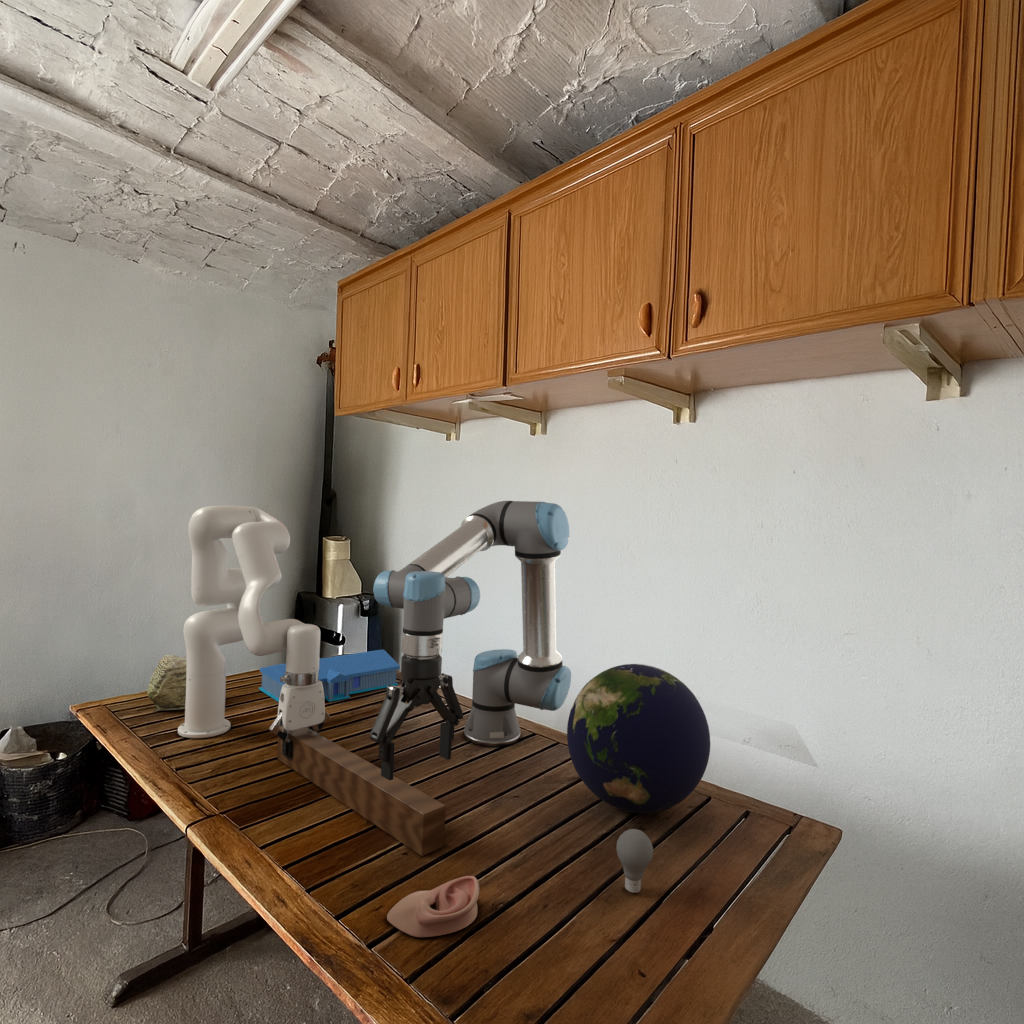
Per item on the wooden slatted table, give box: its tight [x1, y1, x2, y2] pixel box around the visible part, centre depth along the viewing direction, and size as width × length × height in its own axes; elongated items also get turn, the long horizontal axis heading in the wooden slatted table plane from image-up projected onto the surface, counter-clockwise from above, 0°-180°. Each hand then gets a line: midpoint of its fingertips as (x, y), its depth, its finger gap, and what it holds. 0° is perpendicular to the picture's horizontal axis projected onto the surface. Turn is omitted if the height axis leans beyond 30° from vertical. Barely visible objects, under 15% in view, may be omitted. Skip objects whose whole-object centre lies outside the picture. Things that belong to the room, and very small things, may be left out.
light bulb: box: [615, 828, 654, 894], centre depth 106 cm, size 6×6×10 cm
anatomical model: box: [386, 875, 480, 938], centre depth 98 cm, size 13×4×12 cm
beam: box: [276, 726, 446, 857], centre depth 134 cm, size 56×5×8 cm, turn 46°
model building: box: [258, 649, 401, 703], centre depth 208 cm, size 39×24×10 cm, turn 132°
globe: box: [566, 663, 711, 814], centre depth 135 cm, size 30×30×30 cm
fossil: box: [147, 654, 187, 712], centre depth 185 cm, size 9×18×15 cm, turn 132°
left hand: (299, 753), depth 150 cm, fingers closed on beam, 5 cm apart
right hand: (417, 767), depth 119 cm, fingers open, 13 cm apart
